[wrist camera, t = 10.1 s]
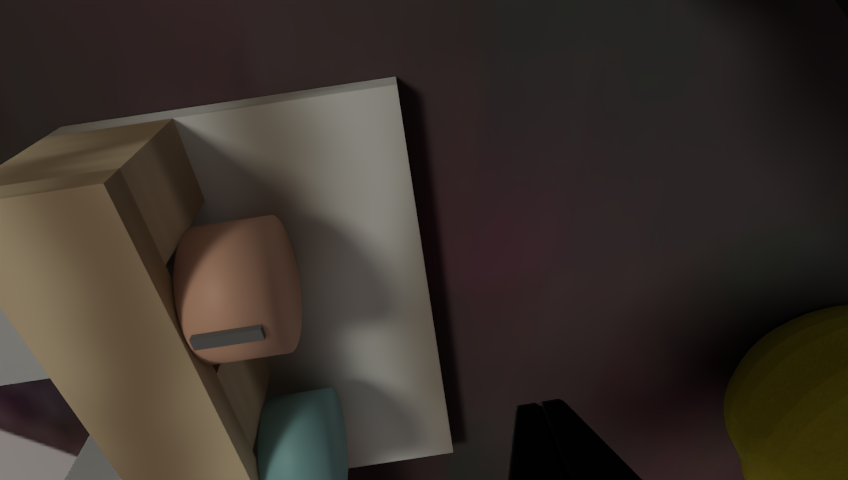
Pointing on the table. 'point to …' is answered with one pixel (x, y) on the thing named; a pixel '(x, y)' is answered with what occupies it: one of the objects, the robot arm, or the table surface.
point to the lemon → (793, 401)
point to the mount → (154, 291)
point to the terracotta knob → (213, 297)
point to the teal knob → (271, 441)
